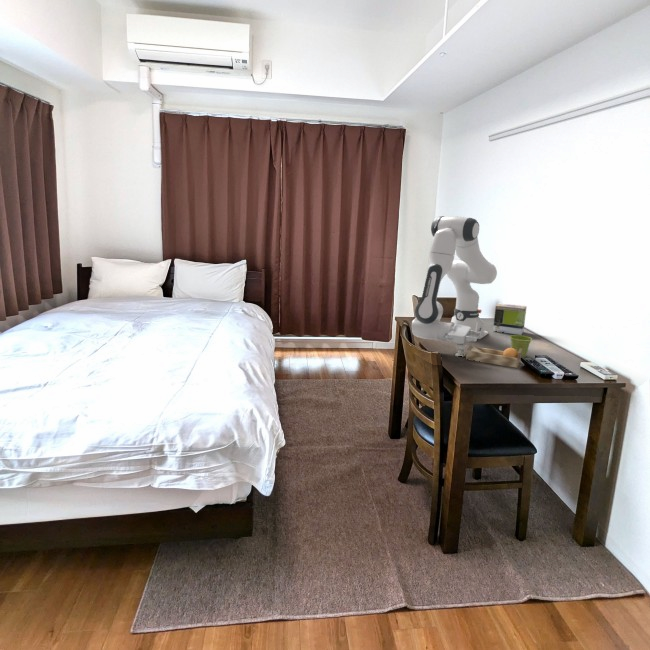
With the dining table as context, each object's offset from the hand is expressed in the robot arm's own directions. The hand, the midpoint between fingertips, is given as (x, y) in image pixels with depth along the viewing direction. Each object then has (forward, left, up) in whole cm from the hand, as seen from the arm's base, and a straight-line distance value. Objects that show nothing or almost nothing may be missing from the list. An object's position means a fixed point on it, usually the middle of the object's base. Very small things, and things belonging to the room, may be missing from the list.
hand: (478, 336), depth 212 cm
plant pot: (-20, +11, -10) cm, 24 cm away
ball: (-6, +15, -8) cm, 18 cm away
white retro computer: (-60, -13, -10) cm, 62 cm away
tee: (+2, -6, -10) cm, 12 cm away
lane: (-2, +7, -10) cm, 12 cm away
